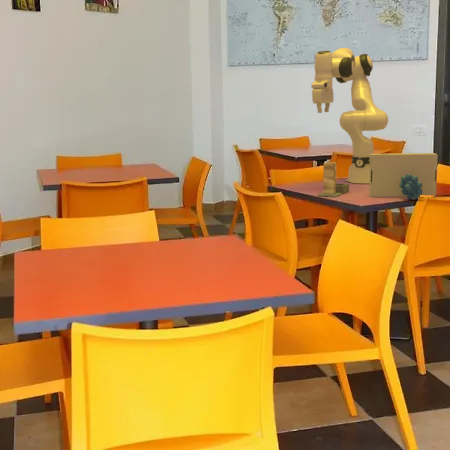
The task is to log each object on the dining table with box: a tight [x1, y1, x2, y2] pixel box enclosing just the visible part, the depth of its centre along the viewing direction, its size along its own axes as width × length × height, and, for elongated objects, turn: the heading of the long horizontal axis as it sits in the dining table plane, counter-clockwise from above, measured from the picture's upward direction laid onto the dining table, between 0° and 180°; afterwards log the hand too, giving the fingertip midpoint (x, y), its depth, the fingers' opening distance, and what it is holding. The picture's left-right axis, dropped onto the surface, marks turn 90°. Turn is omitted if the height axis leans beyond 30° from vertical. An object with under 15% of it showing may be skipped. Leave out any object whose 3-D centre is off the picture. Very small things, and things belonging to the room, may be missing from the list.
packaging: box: [368, 152, 439, 198], centre depth 319 cm, size 30×6×20 cm, turn 84°
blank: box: [322, 161, 337, 195], centre depth 325 cm, size 4×5×15 cm
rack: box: [336, 182, 350, 195], centre depth 335 cm, size 8×10×4 cm
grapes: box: [399, 173, 423, 201], centre depth 308 cm, size 12×7×12 cm, turn 48°
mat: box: [317, 192, 343, 198], centre depth 326 cm, size 9×9×1 cm
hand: (323, 112), depth 337 cm, fingers open, 8 cm apart
